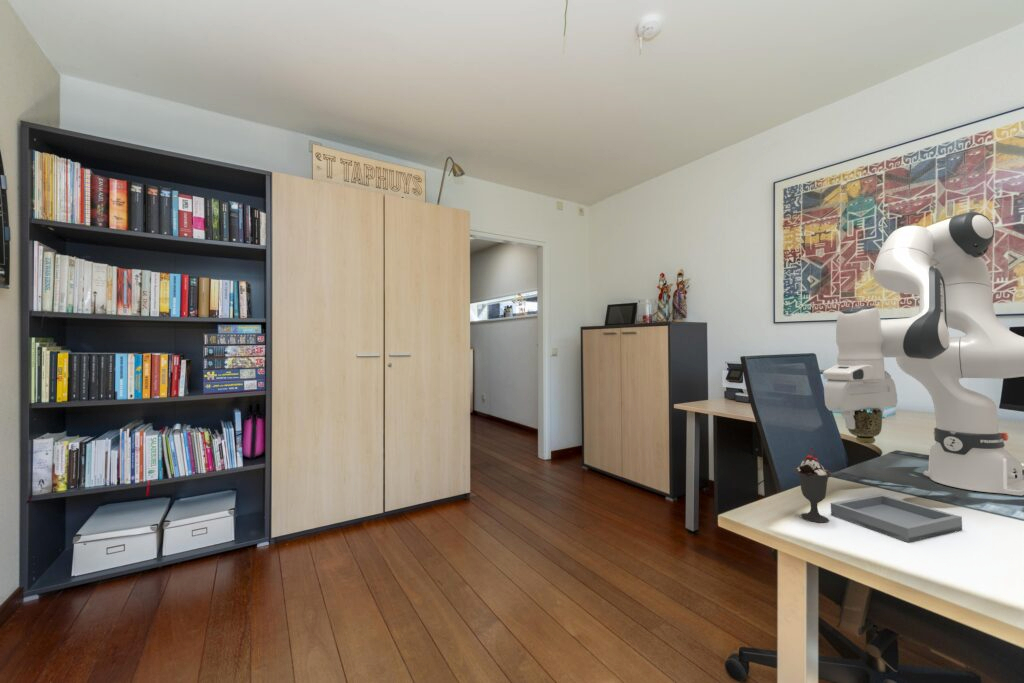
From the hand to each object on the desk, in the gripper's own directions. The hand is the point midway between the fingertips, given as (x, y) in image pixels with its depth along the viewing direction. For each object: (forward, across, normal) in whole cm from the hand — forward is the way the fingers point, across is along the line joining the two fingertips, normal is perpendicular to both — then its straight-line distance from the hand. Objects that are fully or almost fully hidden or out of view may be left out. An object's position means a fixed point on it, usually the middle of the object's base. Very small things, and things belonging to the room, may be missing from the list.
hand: (863, 427), depth 100 cm
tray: (+17, +11, +12) cm, 23 cm away
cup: (+4, 0, 0) cm, 4 cm away
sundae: (+17, +24, +5) cm, 30 cm away
